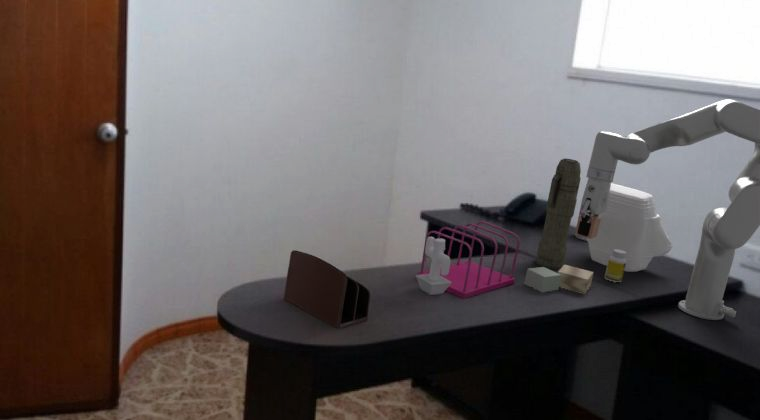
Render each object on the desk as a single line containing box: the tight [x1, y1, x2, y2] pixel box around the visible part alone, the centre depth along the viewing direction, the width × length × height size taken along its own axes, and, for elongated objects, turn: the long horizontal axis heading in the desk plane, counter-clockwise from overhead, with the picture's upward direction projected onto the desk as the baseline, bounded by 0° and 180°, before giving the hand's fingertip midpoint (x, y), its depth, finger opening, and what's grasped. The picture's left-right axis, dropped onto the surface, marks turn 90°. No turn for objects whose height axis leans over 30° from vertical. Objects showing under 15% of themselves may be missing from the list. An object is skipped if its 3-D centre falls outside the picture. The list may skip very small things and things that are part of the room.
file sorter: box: [416, 220, 521, 299], centre depth 217 cm, size 17×25×16 cm
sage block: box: [524, 266, 561, 293], centre depth 223 cm, size 7×7×5 cm
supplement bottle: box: [604, 249, 626, 283], centre depth 239 cm, size 5×5×10 cm
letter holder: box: [283, 250, 371, 329], centre depth 182 cm, size 10×20×14 cm, turn 47°
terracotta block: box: [574, 214, 601, 239], centre depth 223 cm, size 5×5×6 cm
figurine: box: [415, 236, 452, 296], centre depth 205 cm, size 7×9×15 cm
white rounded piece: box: [586, 182, 673, 273], centre depth 254 cm, size 21×27×26 cm
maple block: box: [557, 264, 595, 294], centre depth 228 cm, size 9×9×5 cm
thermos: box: [535, 158, 582, 270], centre depth 243 cm, size 9×12×35 cm
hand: (586, 232), depth 224 cm, fingers closed on terracotta block, 5 cm apart
